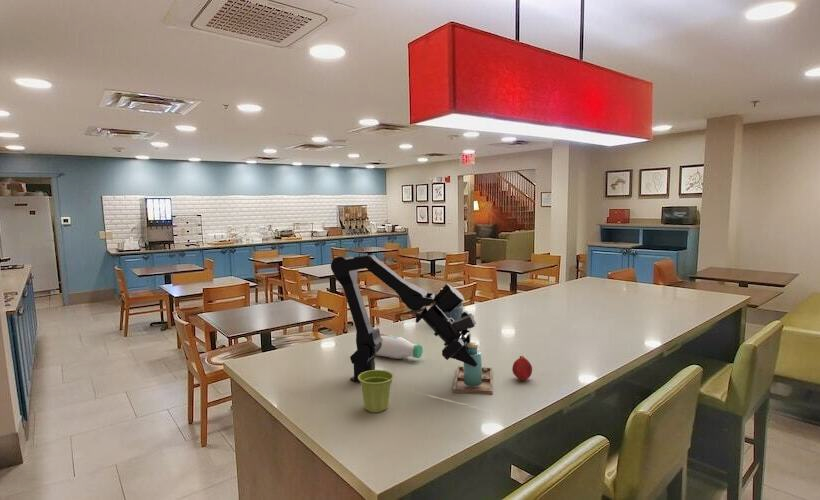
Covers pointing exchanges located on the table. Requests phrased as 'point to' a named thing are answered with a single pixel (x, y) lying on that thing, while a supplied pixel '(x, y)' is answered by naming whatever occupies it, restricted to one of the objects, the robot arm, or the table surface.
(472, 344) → the bottle
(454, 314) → the canister
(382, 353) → the milk bottle
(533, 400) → the table surface
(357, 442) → the table surface
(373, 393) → the plant pot
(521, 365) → the onion
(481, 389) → the double tray
